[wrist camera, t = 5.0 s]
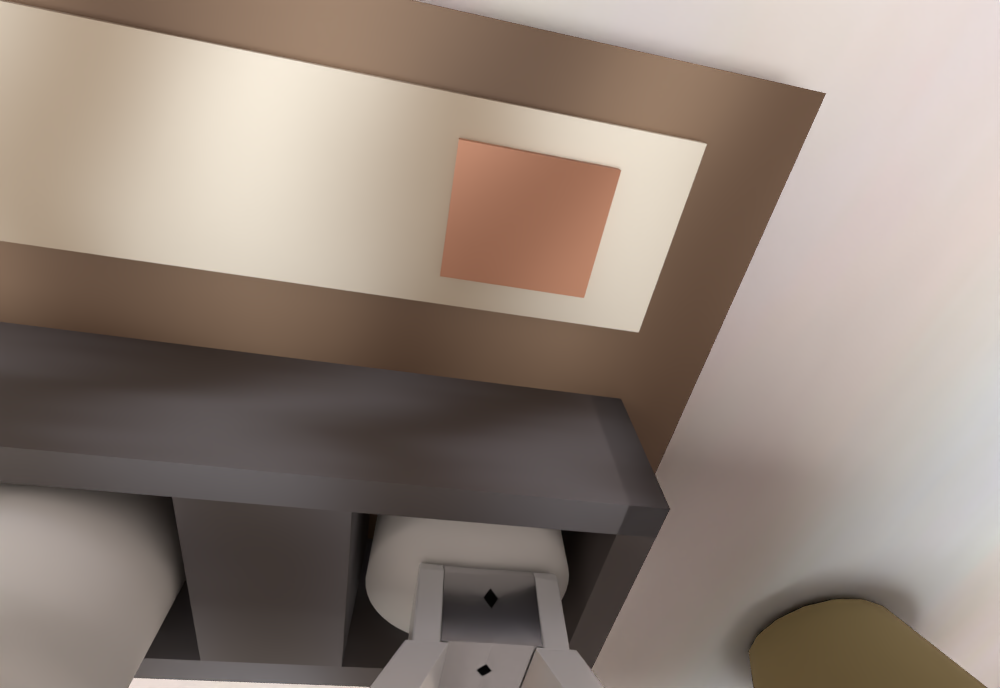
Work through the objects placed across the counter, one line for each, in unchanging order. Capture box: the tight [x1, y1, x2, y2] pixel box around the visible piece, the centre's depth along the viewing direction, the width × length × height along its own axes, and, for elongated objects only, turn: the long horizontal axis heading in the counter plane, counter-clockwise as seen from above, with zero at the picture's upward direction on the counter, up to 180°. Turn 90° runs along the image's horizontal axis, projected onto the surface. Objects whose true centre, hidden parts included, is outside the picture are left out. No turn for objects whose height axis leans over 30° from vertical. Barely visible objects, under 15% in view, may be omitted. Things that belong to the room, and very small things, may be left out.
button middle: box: [0, 482, 186, 688], centre depth 10 cm, size 4×4×3 cm
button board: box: [0, 0, 826, 687], centre depth 11 cm, size 26×16×5 cm, turn 79°
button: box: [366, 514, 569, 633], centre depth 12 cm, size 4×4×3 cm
